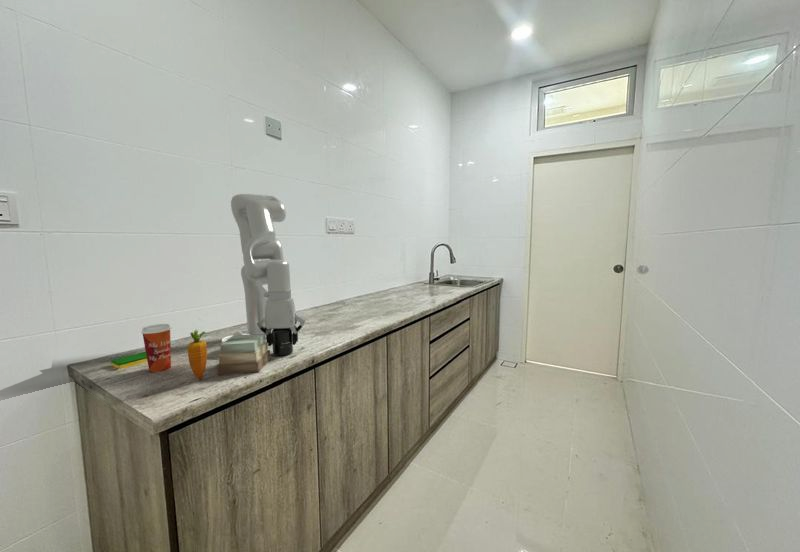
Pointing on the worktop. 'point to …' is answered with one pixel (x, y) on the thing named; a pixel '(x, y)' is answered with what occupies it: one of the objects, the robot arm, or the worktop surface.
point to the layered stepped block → (243, 354)
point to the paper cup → (157, 346)
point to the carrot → (197, 354)
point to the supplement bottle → (282, 342)
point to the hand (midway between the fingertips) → (282, 344)
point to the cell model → (232, 335)
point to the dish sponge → (129, 360)
